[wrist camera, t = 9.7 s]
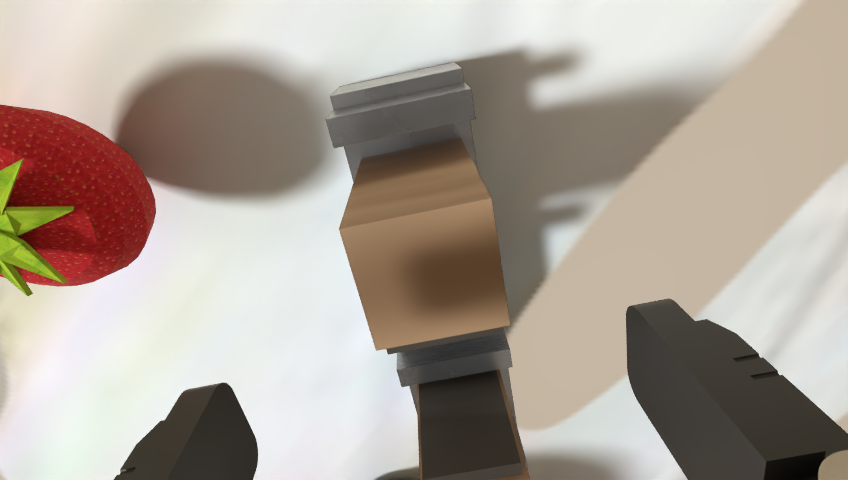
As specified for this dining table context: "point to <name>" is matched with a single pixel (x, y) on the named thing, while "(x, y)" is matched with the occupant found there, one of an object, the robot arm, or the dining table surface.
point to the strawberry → (67, 201)
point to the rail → (402, 129)
